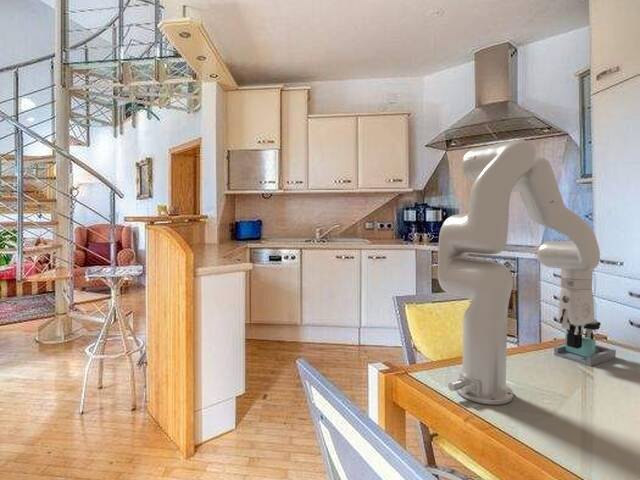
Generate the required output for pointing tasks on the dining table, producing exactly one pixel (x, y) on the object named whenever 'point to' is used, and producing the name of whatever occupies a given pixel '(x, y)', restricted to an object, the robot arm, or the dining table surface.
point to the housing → (598, 357)
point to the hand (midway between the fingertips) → (574, 346)
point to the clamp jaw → (586, 348)
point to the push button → (591, 328)
